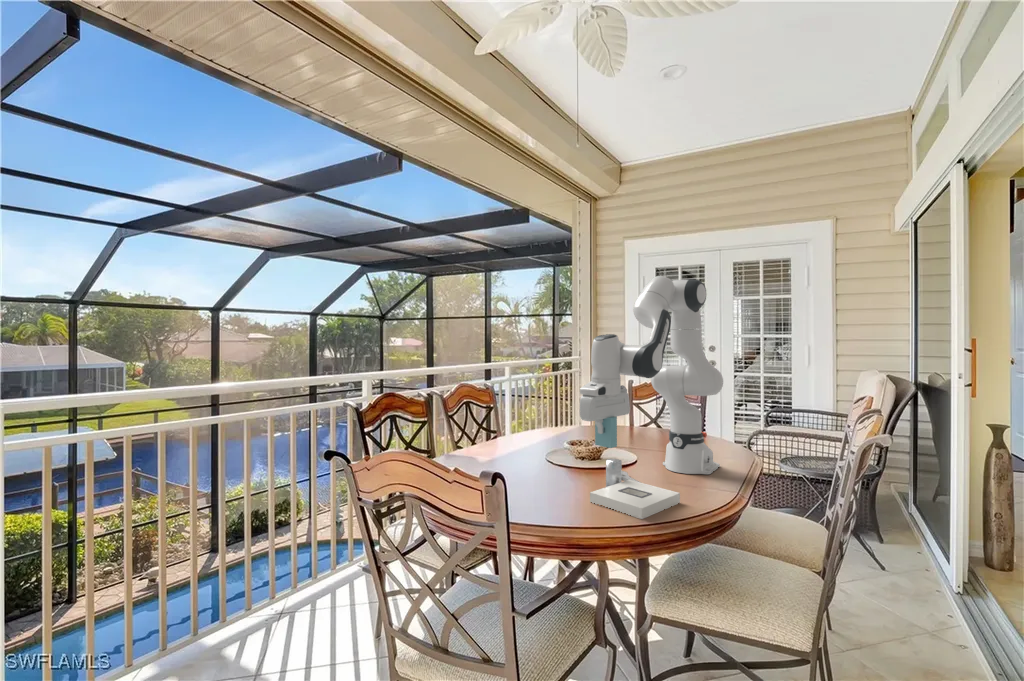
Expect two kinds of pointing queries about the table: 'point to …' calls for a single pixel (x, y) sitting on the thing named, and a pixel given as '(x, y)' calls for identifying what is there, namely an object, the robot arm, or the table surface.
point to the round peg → (613, 471)
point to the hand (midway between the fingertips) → (606, 432)
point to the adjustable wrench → (627, 477)
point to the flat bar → (607, 433)
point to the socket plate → (635, 498)
